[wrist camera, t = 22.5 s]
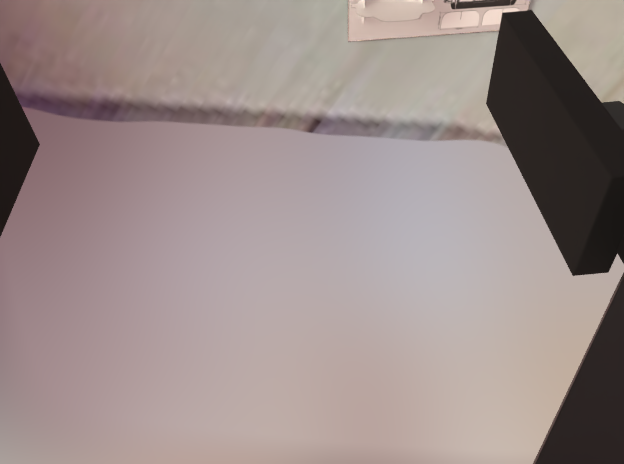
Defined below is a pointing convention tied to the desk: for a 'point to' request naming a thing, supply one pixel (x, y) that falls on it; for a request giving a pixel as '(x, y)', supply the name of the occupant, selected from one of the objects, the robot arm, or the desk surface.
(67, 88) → the desk surface
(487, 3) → the white plate with bracket
